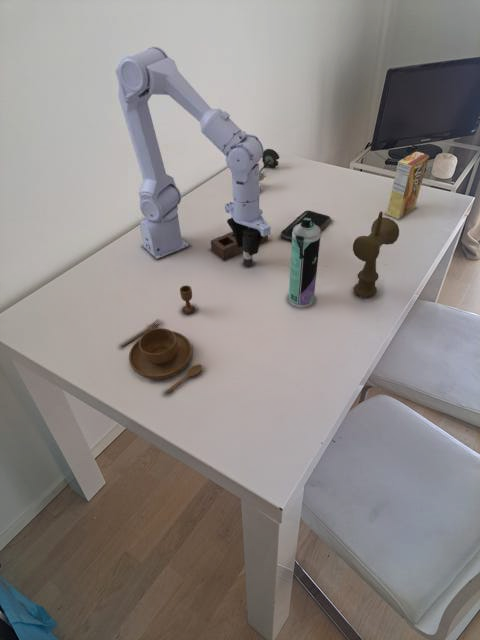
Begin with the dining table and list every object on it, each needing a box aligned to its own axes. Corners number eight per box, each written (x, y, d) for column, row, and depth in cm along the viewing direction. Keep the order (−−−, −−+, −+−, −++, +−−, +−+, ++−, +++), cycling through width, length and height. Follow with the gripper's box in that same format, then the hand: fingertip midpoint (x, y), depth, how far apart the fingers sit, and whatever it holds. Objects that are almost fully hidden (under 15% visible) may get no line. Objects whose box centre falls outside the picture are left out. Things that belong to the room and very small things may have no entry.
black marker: (247, 268, 104) (246, 239, 99) (241, 264, 105) (240, 235, 100) (254, 264, 105) (254, 236, 100) (249, 260, 106) (248, 232, 101)
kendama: (387, 287, 97) (407, 205, 83) (366, 309, 92) (384, 226, 78) (362, 277, 100) (378, 197, 86) (341, 298, 95) (355, 216, 81)
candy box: (402, 203, 125) (415, 150, 114) (415, 208, 122) (430, 154, 112) (385, 214, 120) (397, 160, 110) (399, 219, 118) (412, 165, 108)
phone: (279, 233, 113) (306, 209, 121) (279, 237, 113) (306, 213, 122) (305, 242, 109) (332, 216, 118) (305, 246, 110) (331, 220, 119)
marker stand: (223, 260, 107) (223, 250, 105) (211, 250, 110) (210, 240, 108) (268, 240, 113) (268, 230, 111) (255, 231, 116) (254, 222, 114)
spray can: (312, 309, 92) (321, 227, 79) (287, 306, 93) (291, 224, 80) (314, 293, 96) (323, 212, 83) (290, 290, 97) (294, 210, 84)
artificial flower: (284, 172, 146) (291, 146, 138) (251, 208, 134) (257, 182, 125) (261, 161, 147) (267, 135, 139) (227, 195, 135) (231, 169, 127)
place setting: (110, 351, 85) (102, 329, 81) (188, 303, 95) (184, 282, 91) (163, 401, 76) (158, 379, 72) (244, 342, 86) (243, 320, 82)
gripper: (282, 203, 90) (280, 256, 100) (241, 180, 99) (242, 231, 108) (255, 213, 87) (256, 268, 97) (215, 189, 96) (219, 241, 105)
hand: (247, 249), depth 102 cm, fingers open, 4 cm apart
